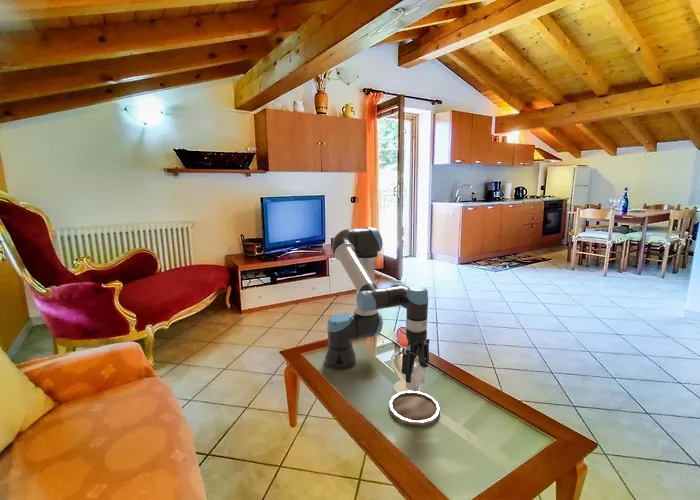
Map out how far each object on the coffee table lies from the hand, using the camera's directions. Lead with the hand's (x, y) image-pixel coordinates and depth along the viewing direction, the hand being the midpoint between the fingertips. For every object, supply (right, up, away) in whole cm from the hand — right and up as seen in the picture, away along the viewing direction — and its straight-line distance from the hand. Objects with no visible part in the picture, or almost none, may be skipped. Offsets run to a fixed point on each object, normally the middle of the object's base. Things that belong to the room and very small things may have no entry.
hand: (415, 385), depth 134 cm
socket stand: (0, -10, +2) cm, 11 cm away
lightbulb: (0, -3, +1) cm, 3 cm away
